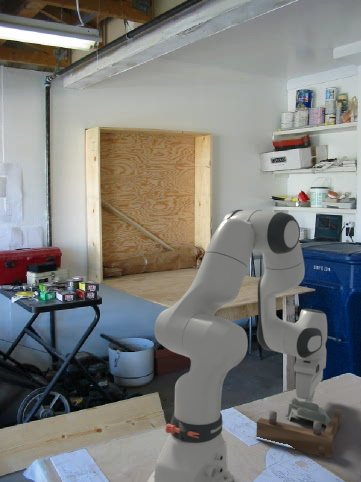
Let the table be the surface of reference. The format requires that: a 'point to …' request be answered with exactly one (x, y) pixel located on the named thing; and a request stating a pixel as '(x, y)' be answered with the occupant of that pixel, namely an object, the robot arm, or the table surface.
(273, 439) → the bench stop
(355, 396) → the table surface
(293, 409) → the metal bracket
